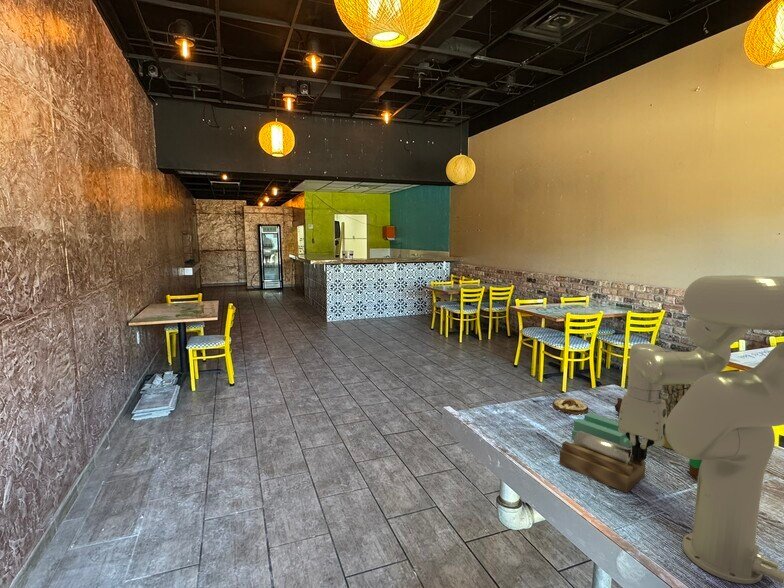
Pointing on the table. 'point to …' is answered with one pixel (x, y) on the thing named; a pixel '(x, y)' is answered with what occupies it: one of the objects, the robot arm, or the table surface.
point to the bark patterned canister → (673, 400)
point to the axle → (604, 447)
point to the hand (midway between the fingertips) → (638, 459)
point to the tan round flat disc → (570, 406)
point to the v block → (601, 429)
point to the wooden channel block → (601, 467)
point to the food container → (694, 468)
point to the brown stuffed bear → (618, 405)
